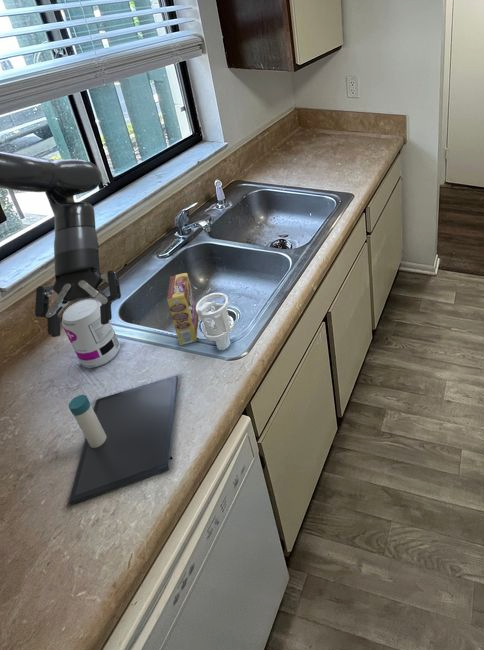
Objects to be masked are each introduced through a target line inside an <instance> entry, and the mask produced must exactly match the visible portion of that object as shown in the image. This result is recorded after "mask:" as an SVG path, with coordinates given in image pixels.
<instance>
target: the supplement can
mask: <svg viewBox="0 0 484 650" xmlns="http://www.w3.org/2000/svg"><path fill="white" fill-rule="evenodd" d="M100 306H102V304H101V303H100V302H99V301H98V300H97V299H95V298H93V297H92V298H91V297H90V298H87V299H80V300H78V301H75V302H73V303H72V304H71V305H69V306H68V307H66V309H65V310H64V311H63V313H62V318H61V326H62V328H63V330H64V332H65V334H66V336H67V338H68V340H69V343H70V345H71V346H72V348H73V350H74V352H75V355H76V356H77V358H78V361H79V362H80V365H81V366H83V367H84V368H89V369H92V368H98V367H101V366H103V365H106V364H107V363H109V362H110V361H111V360H113V359H114V358H115V357H116V355H117V354H118V353H119V351H120V348H121V344H120V341H119V339H118V336H117V334H116V331H115V329H114V327H113V325H112V322H111V320H109V323H108V324H104V325H102V324H101V315H100Z"/></svg>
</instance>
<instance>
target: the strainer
mask: <svg viewBox="0 0 484 650" xmlns="http://www.w3.org/2000/svg"><path fill="white" fill-rule="evenodd" d="M216 298H221V299H223V300H224V301H225V302H224V303H221V302H220V303H219V302H217V300H213V301H209V300H212V299H216ZM229 304H230V302H229V298H228V295H226V293H223V292H212V293H209V294H207V295H205V296H203V297H202V298H201V299H200V300H198V301H197V303H196V311H197V314H198V316H199V320H200V321H201V322H203V327H202V334H203V337H204V338H205V339H206V340H207V341H210V342H211V341H213V342H215V346H216V348H217V350H219V351H224V350H226V349H228V348H229V347H230V345H231V341H230V337H229V335H230V334H231V333H232V332H233V331H234V329H235V320H234V318H233V317H232V315H229V312H228V307H229Z"/></svg>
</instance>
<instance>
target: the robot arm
mask: <svg viewBox="0 0 484 650" xmlns="http://www.w3.org/2000/svg"><path fill="white" fill-rule="evenodd" d="M102 175H103V174H102V172H101V170H100V168H99V167H98V166H97V165H96V164H94V163H93V162H91V161H88V160H85V159H78V158H67V159H66V158H60V159H59V158H58V159H48V158H45V157H39V156H32V155H27V154H21V153H15V152H7V151H2V150H1V151H0V189H5V190H11V191H18V192H30V193H45V195H46V198H47V200H48V203H49V206H50V209H51V211H52V214H53V217H54V220H53V221H54V240H53V255H54V256H53V257H54V259H53V260H54V278H55V281H54V284H51V285H47V286H43V285H39V286H37V287H36V288H35V307H34V317H37V318H45V319H46V322H47V334H48V336H49V335H50V336H51V337H52V338H56V337H60V336H61V317H60V314H61V313H62V311H63V310H64V309H65V308H67V306H68V304H69V303H75V302H78V301H81V300H84V299H89V298H91V297H92V298H93V299H96V300H98V301H99V302H100V303H101V304H102V306H100V315H101V324H102V325H104V324H108V323H109V320H110V321H111V320H112V318H113V316H112V315H113V314H112V303H114V302H115V301H117V300H120V299H121V298H122V293H121V286H120V280H119V273H118V272H117V271H115V270H109V271H107V272H105V273H101V271H100V266H101V265H100V255H99V254H100V252H99V249H100V248H99V247H100V245H99V241H98V233H97V231H96V230H97V229H96V216H95V209H94V206H93V205H92V204H91V203H89V202H85V201H75V200H74V199H75V198H74V196H77V195H80V194H81V195H82V194H85V193H88V192H92V191H93V190H95V189H96V188H98V187H99V186H100V184H101V182H102V178H103V177H102ZM103 281H104V282H105V283H108V289H109V295H106V293H105V292H103V291H102V290H101V289H100V288H99V287H100V285H101V284H102V282H103ZM53 292H55V294H57V296H56V298H55V299H54V300H53V302H52V305H51V306H50V308H49V305H50V297H51V296H52V294H53Z"/></svg>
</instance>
